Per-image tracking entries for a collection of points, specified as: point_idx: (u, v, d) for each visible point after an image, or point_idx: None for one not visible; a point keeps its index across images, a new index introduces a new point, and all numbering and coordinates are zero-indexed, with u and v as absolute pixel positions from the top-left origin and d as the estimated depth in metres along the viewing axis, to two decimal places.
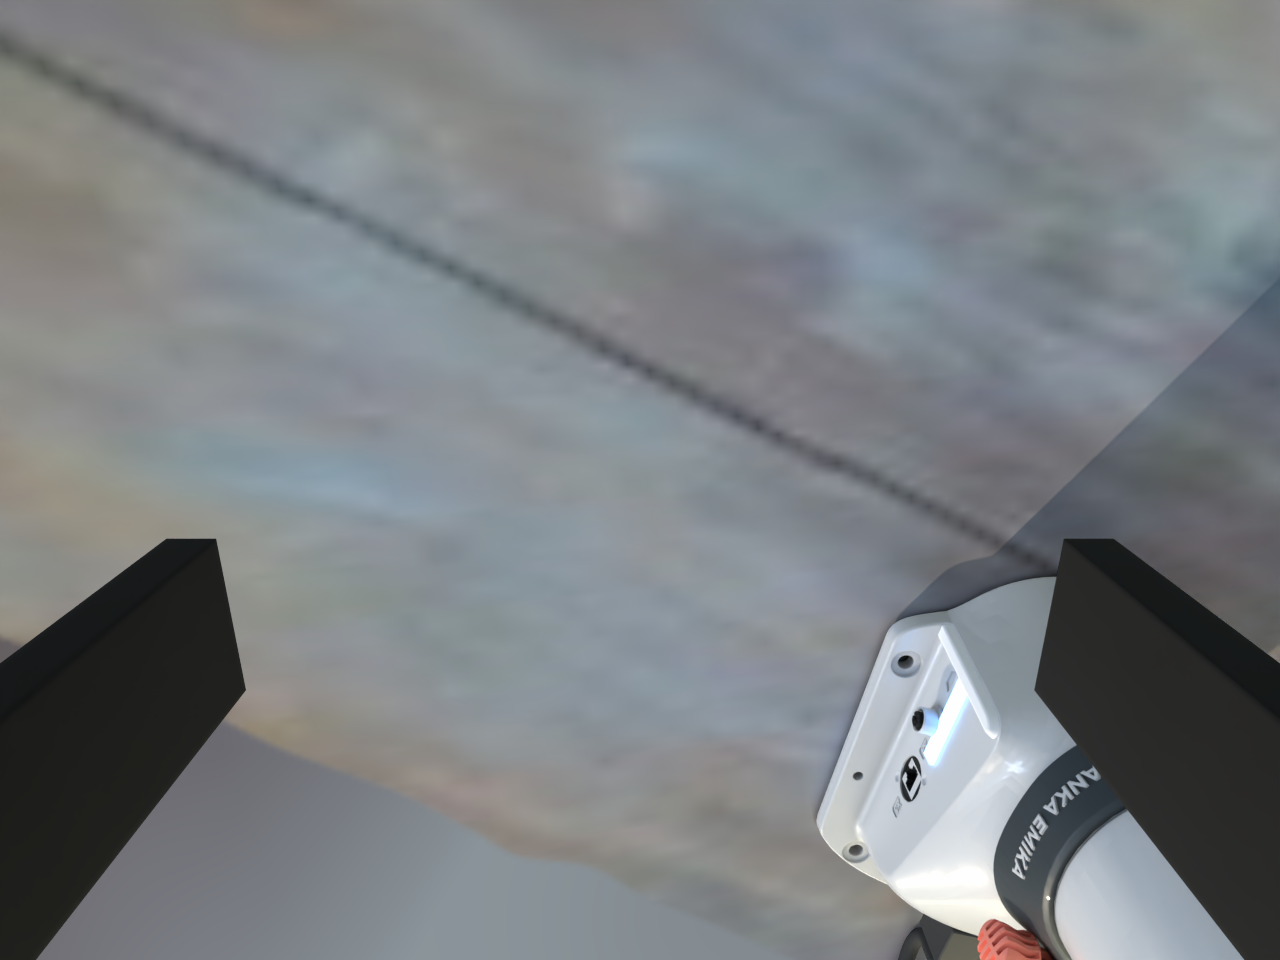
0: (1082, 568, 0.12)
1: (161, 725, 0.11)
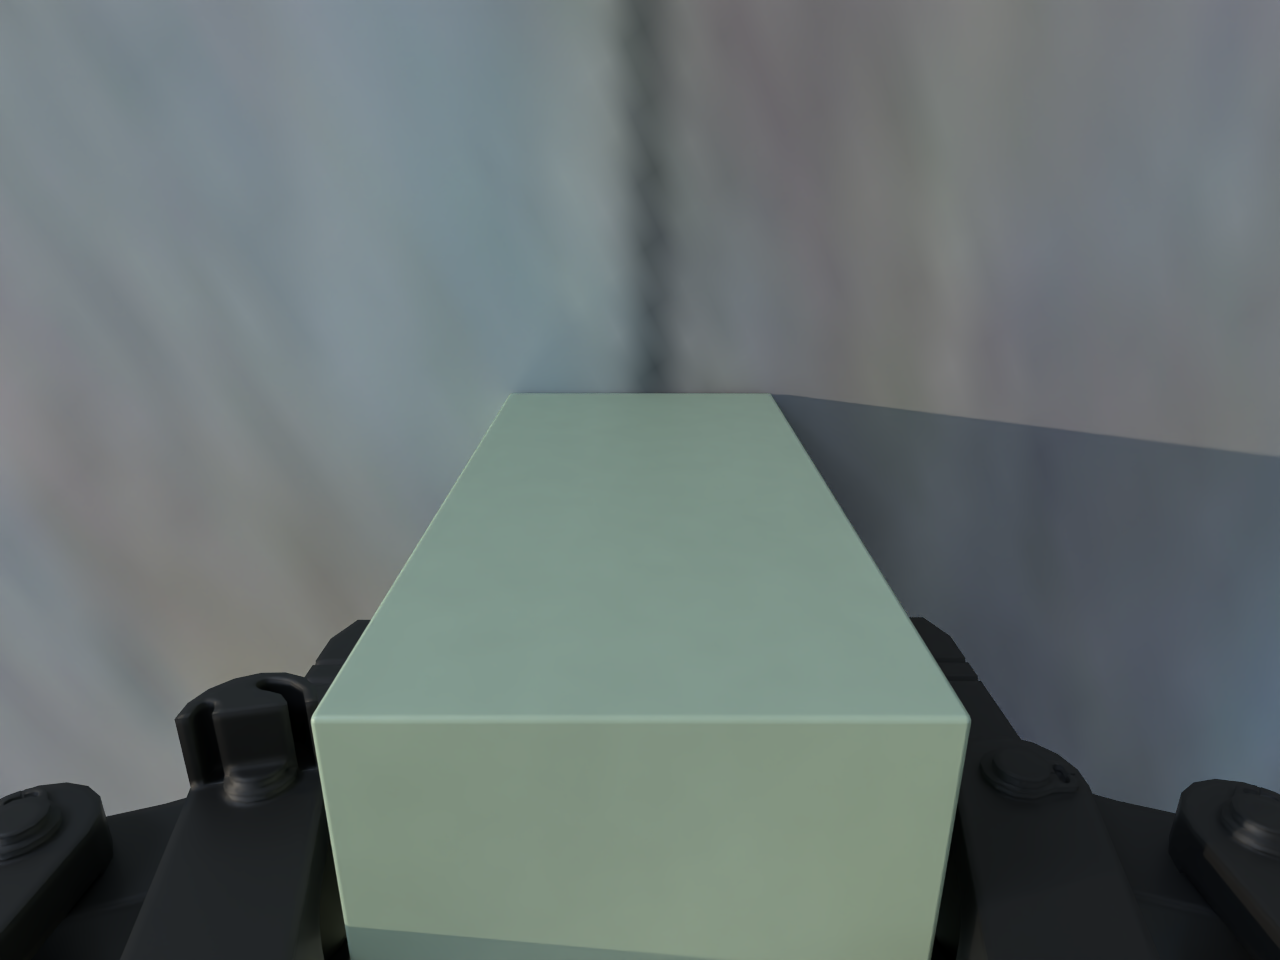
0: None
1: None
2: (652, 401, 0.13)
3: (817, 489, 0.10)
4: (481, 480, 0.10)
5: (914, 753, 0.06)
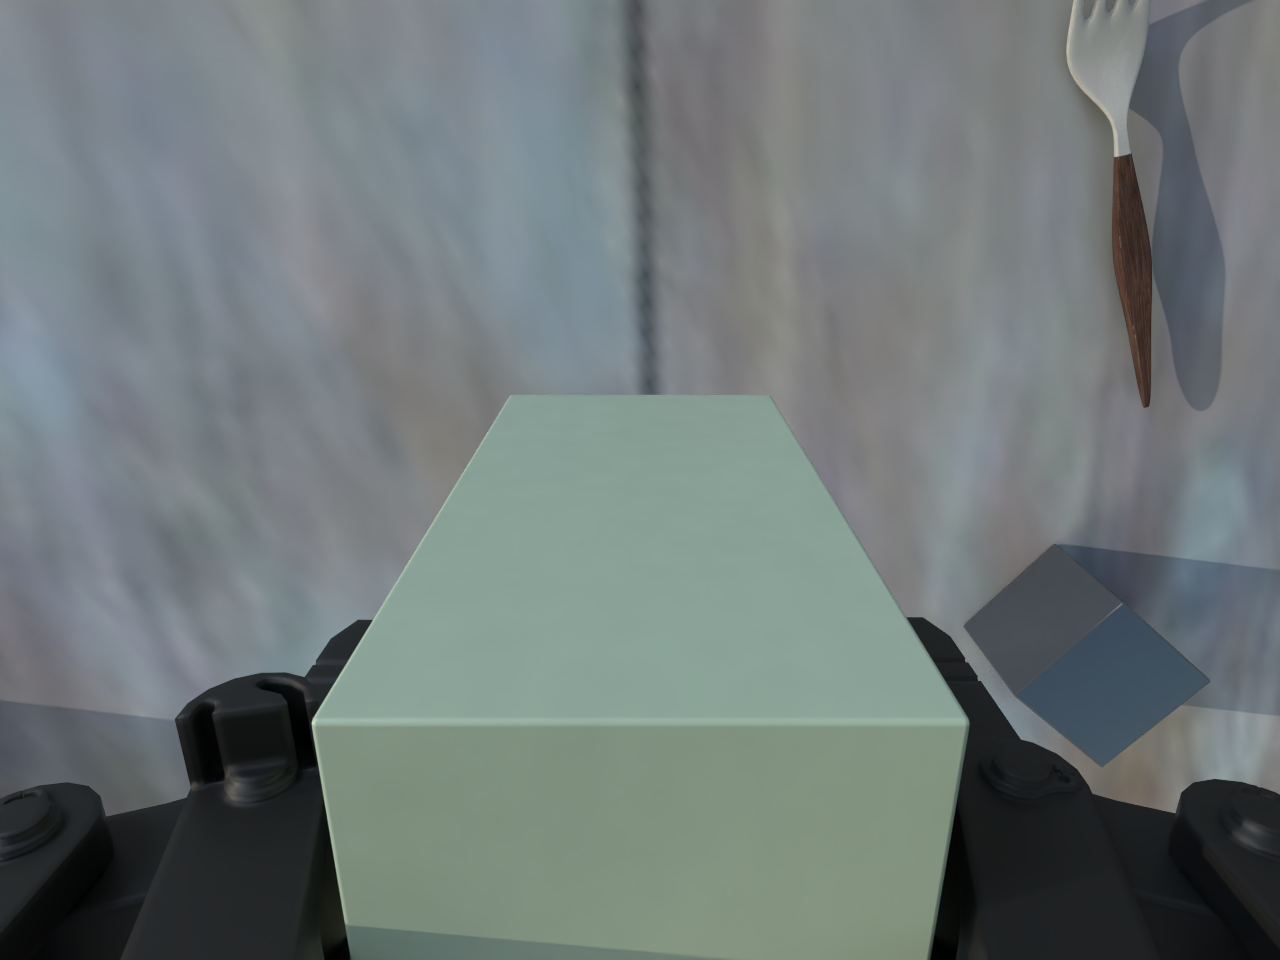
0: None
1: None
2: (651, 403, 0.13)
3: (816, 491, 0.10)
4: (481, 482, 0.10)
5: (913, 754, 0.06)
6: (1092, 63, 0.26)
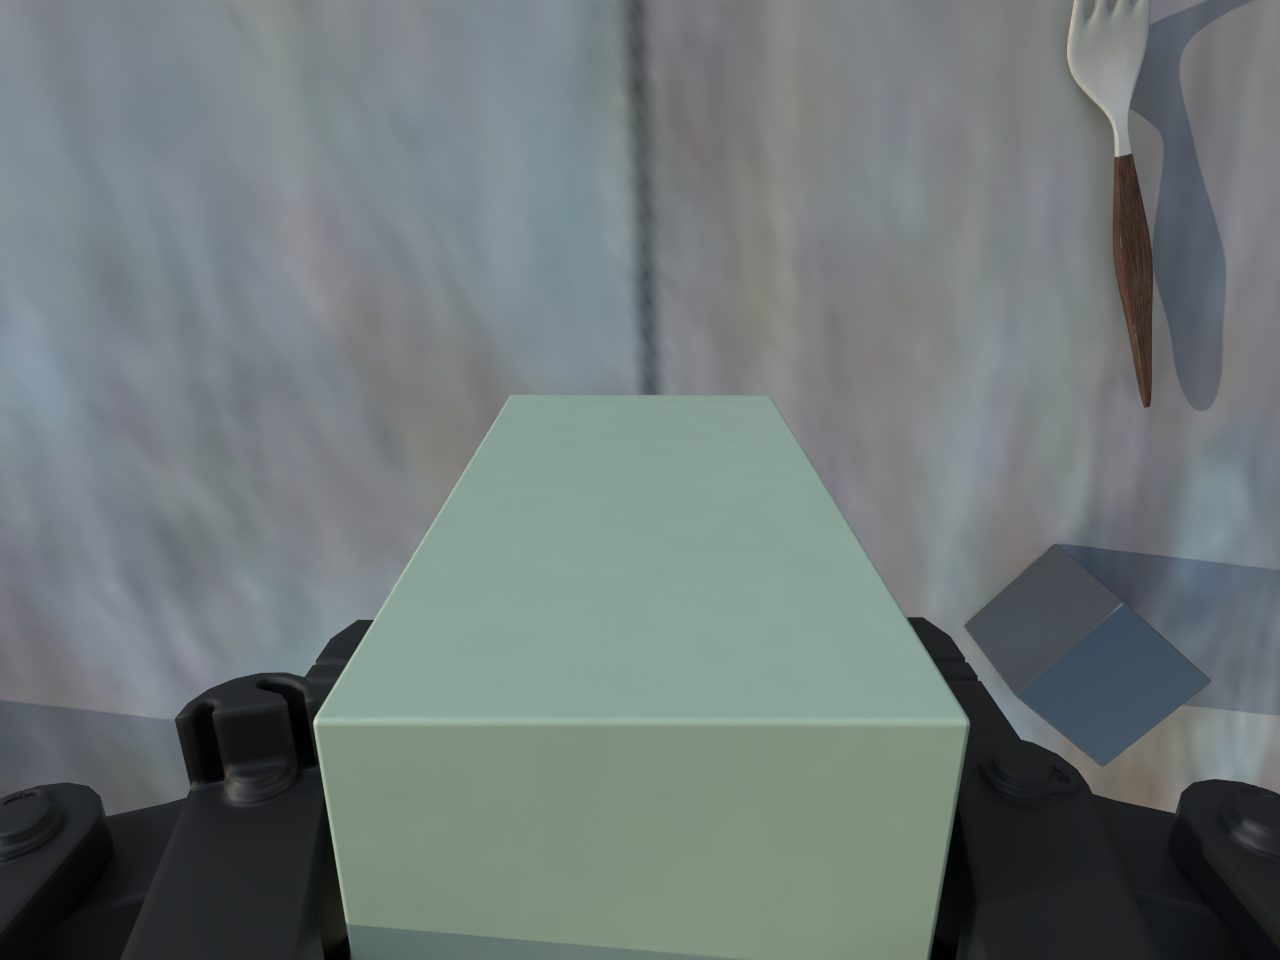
0: None
1: None
2: (652, 402, 0.13)
3: (817, 492, 0.10)
4: (482, 482, 0.10)
5: (912, 753, 0.06)
6: (1093, 63, 0.26)
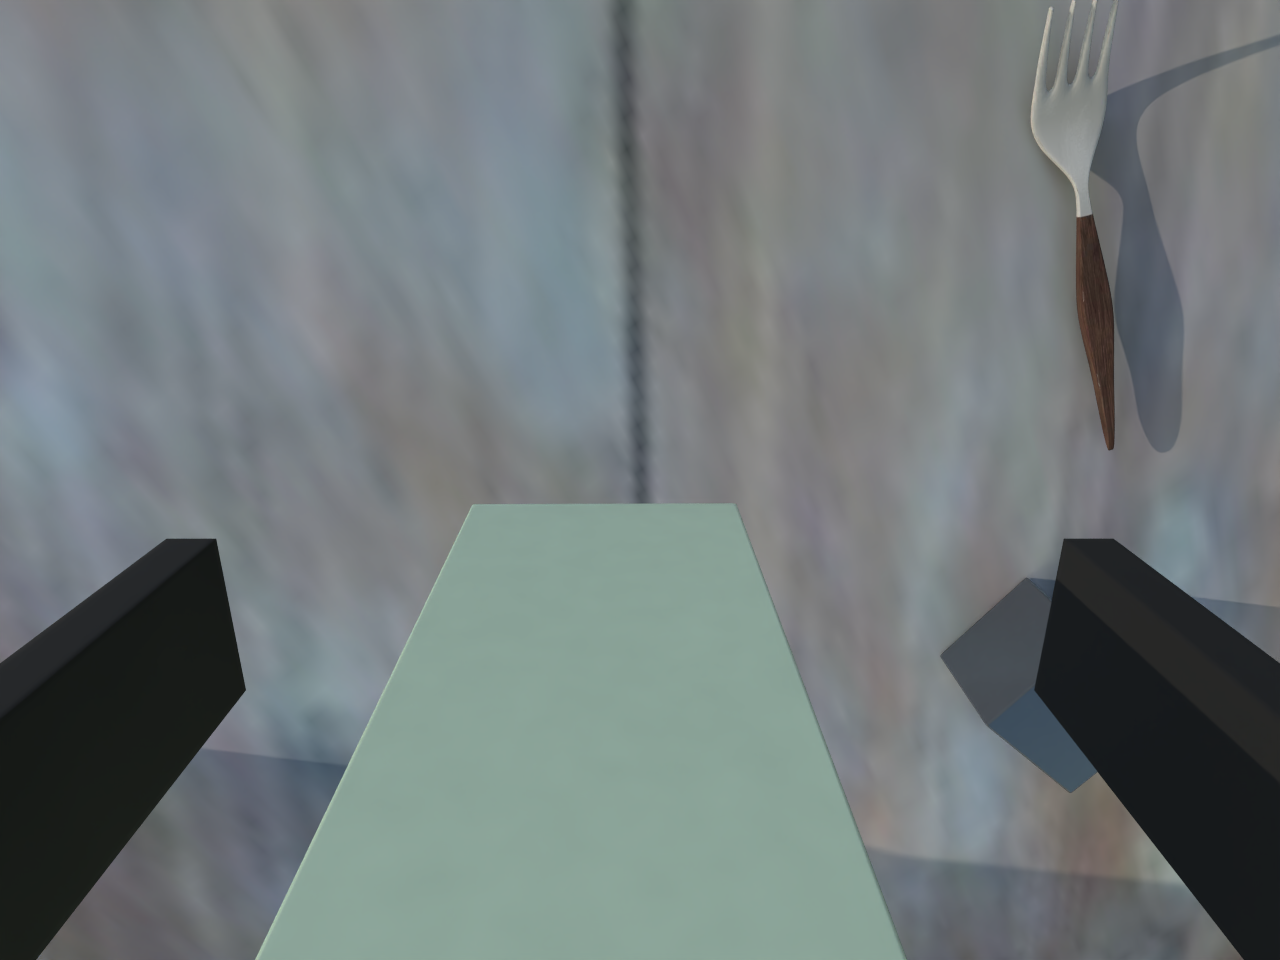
0: (1082, 568, 0.12)
1: (161, 725, 0.11)
2: (615, 515, 0.13)
3: (776, 646, 0.09)
4: (435, 635, 0.10)
5: None
6: (1055, 130, 0.28)
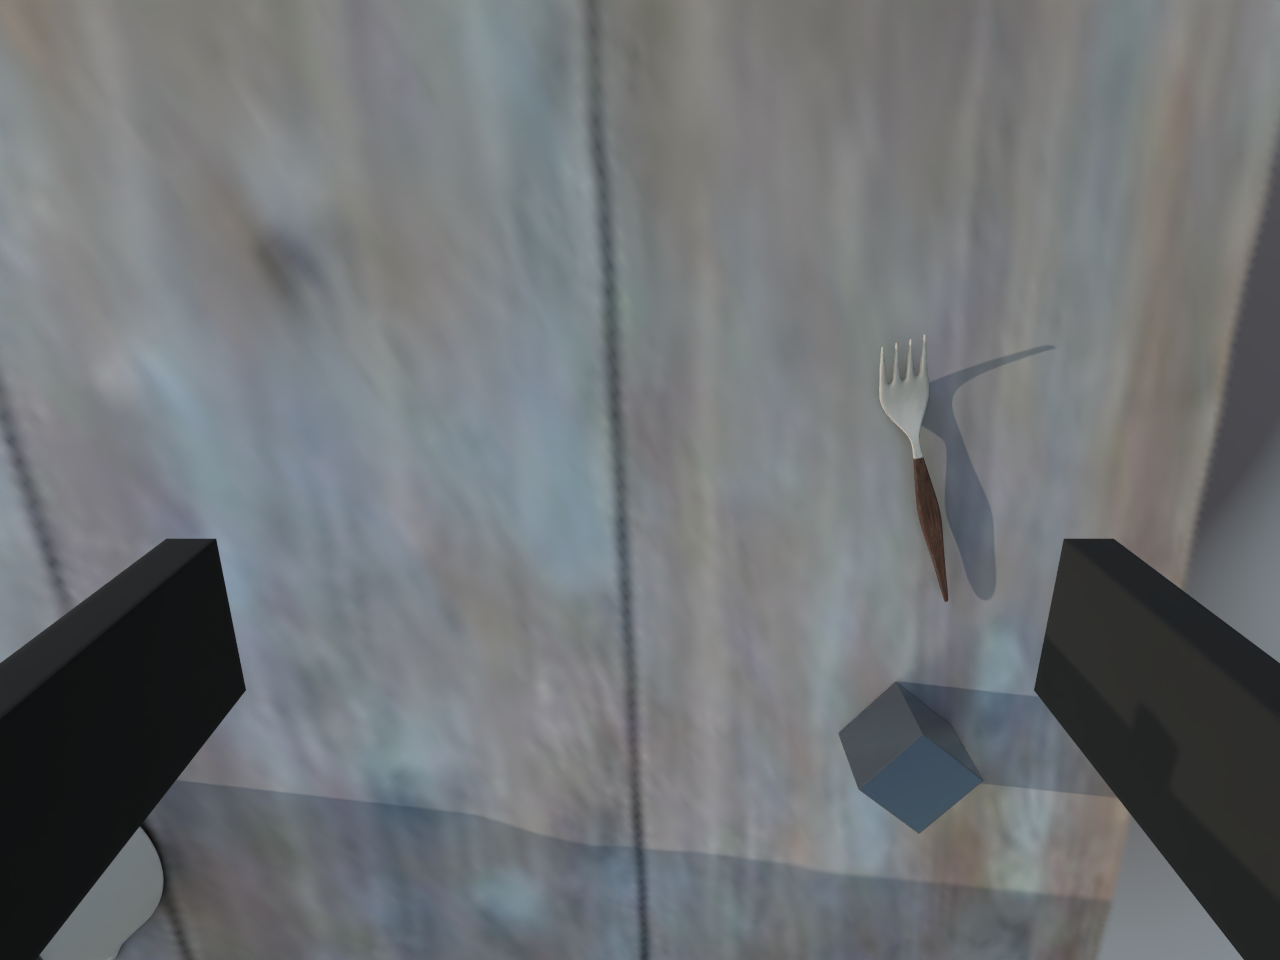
0: (1082, 568, 0.12)
1: (161, 725, 0.11)
2: None
3: None
4: None
5: None
6: (896, 405, 0.43)
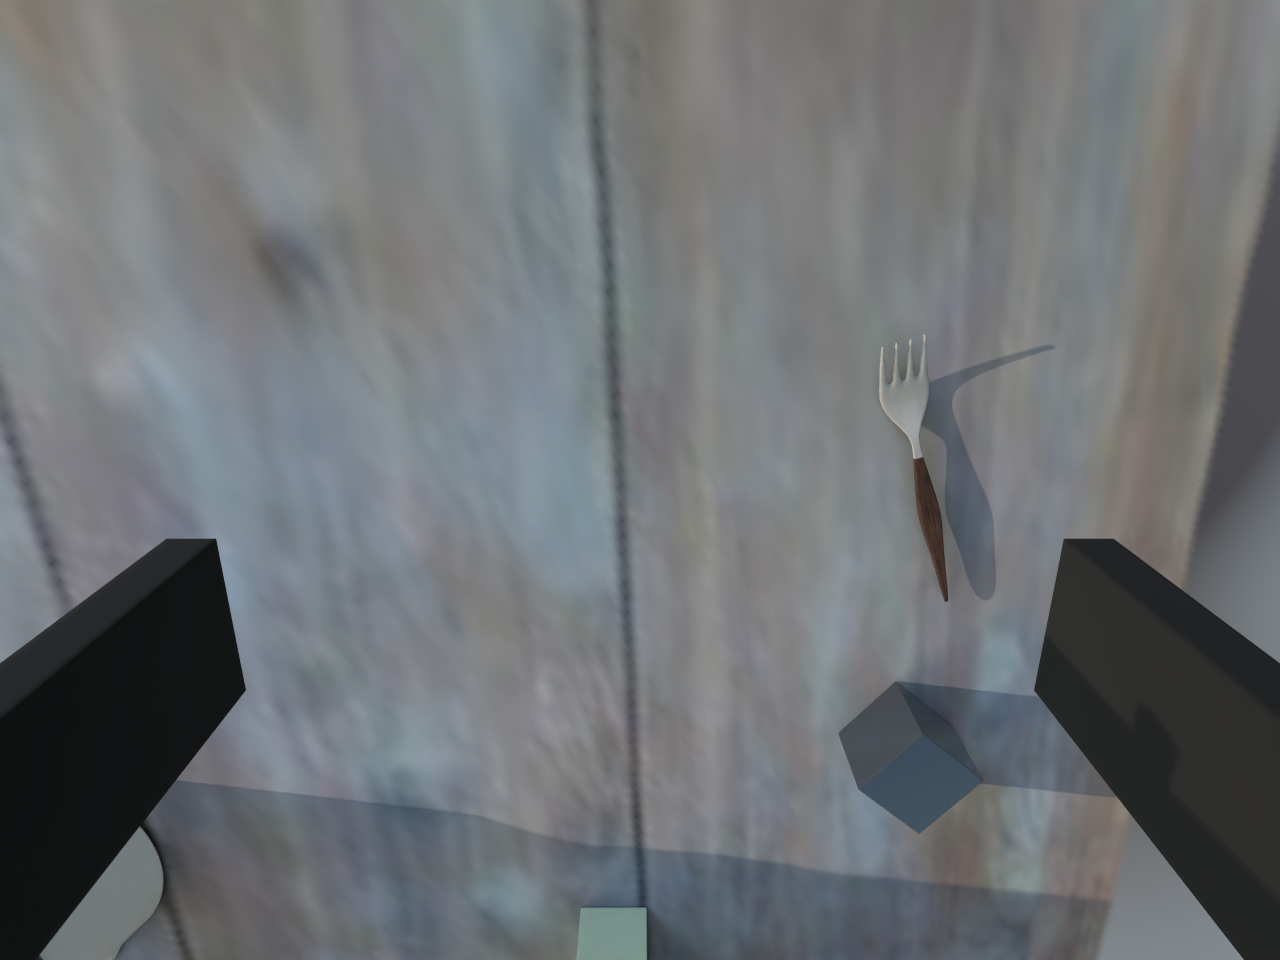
0: (1082, 568, 0.12)
1: (161, 725, 0.11)
2: (616, 914, 0.55)
3: None
4: None
5: None
6: (896, 405, 0.43)
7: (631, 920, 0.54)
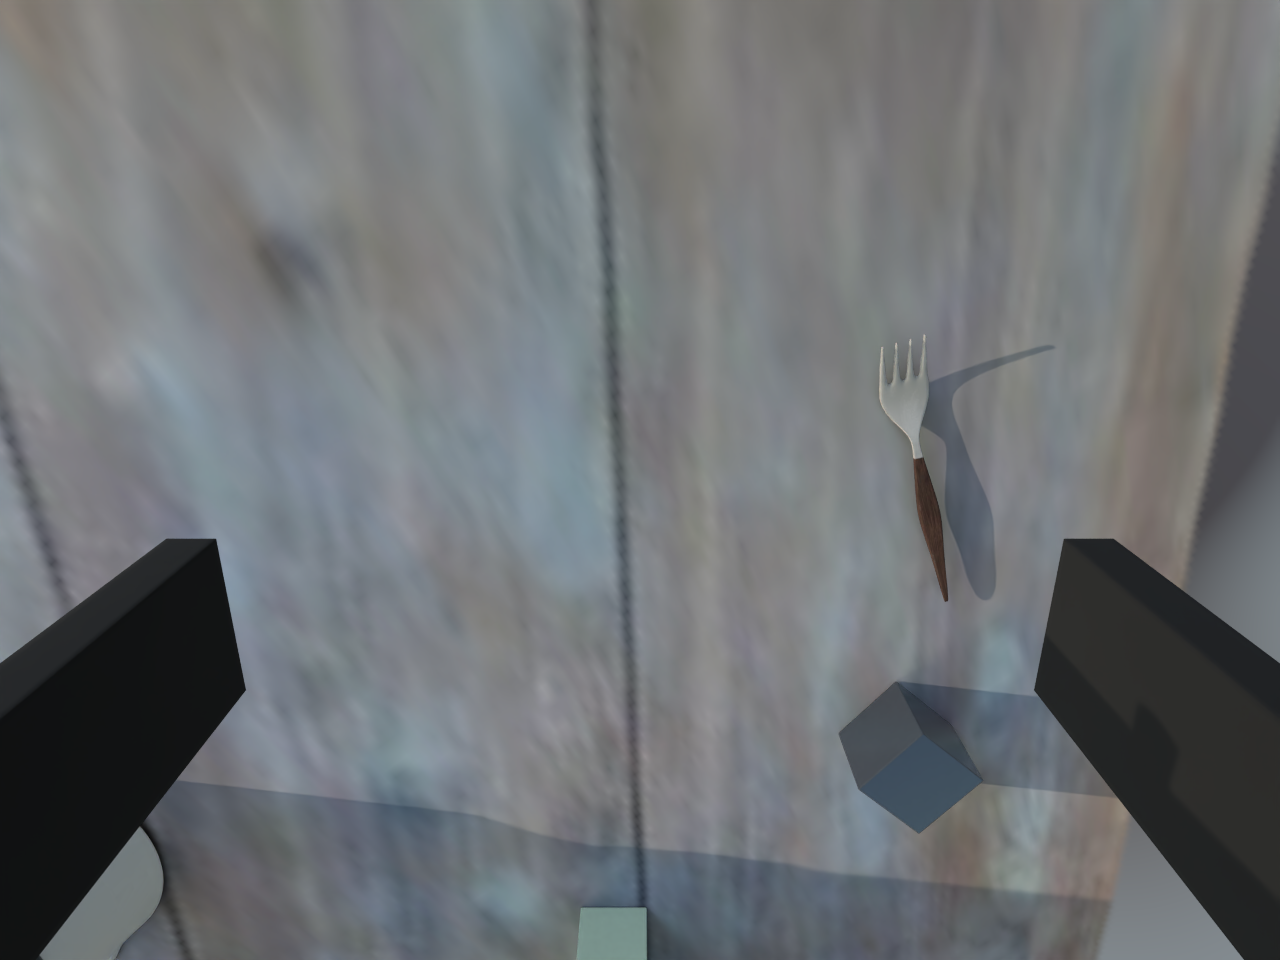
0: (1082, 568, 0.12)
1: (161, 725, 0.11)
2: (616, 914, 0.55)
3: None
4: None
5: None
6: (896, 405, 0.43)
7: (631, 920, 0.54)
